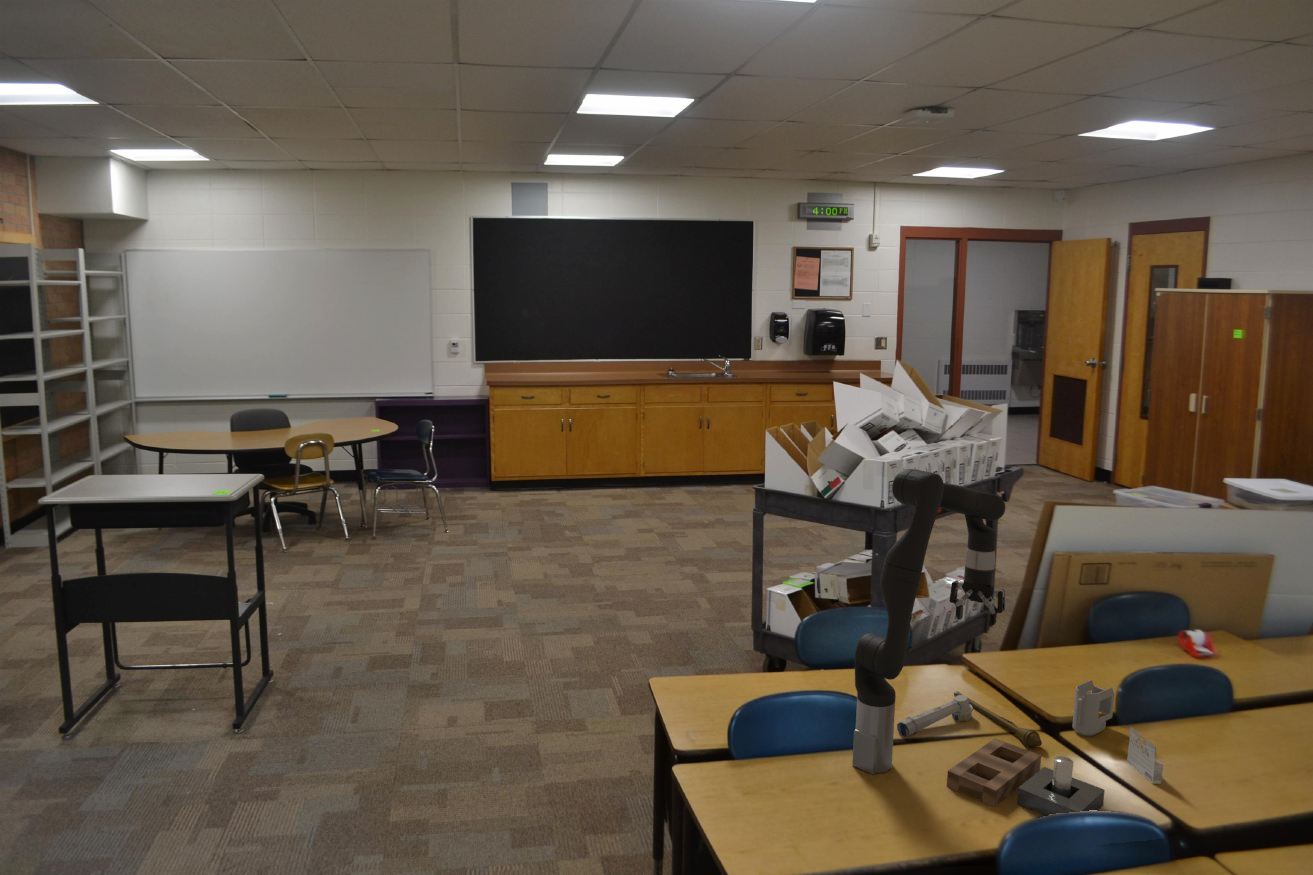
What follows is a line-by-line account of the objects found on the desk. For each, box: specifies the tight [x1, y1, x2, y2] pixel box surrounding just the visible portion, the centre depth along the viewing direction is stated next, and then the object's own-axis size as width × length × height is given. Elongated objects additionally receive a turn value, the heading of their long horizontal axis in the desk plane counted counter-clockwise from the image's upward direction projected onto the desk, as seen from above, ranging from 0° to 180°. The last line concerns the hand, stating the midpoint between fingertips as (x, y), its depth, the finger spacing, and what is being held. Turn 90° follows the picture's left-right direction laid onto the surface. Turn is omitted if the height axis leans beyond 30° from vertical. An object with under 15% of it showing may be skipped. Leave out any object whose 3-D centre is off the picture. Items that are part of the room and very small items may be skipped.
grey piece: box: [896, 694, 974, 738], centre depth 252 cm, size 5×7×25 cm
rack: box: [946, 737, 1042, 807], centre depth 224 cm, size 24×12×4 cm, turn 134°
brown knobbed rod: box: [953, 690, 1043, 748], centre depth 254 cm, size 5×35×5 cm
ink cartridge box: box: [1126, 726, 1164, 785], centre depth 227 cm, size 2×11×10 cm, turn 4°
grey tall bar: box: [1052, 755, 1074, 798], centre depth 212 cm, size 4×4×11 cm
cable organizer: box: [1071, 679, 1115, 737], centre depth 249 cm, size 7×13×12 cm, turn 125°
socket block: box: [1016, 766, 1105, 816], centre depth 213 cm, size 14×14×4 cm
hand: (975, 622), depth 252 cm, fingers open, 8 cm apart
